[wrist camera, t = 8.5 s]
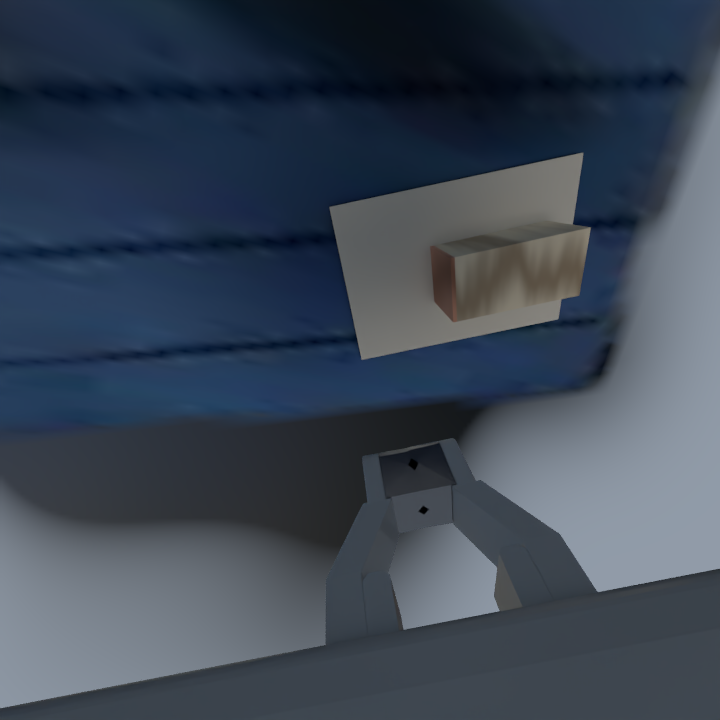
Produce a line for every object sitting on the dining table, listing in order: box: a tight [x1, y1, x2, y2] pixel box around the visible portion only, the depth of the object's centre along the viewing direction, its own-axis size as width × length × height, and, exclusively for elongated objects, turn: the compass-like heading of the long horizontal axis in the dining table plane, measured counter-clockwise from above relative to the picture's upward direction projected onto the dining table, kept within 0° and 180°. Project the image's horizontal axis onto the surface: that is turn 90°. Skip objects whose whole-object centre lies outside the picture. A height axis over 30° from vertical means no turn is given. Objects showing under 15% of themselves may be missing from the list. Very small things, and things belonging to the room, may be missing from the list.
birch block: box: [430, 221, 591, 322], centre depth 25 cm, size 5×5×10 cm
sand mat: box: [329, 153, 583, 360], centre depth 27 cm, size 14×20×1 cm
